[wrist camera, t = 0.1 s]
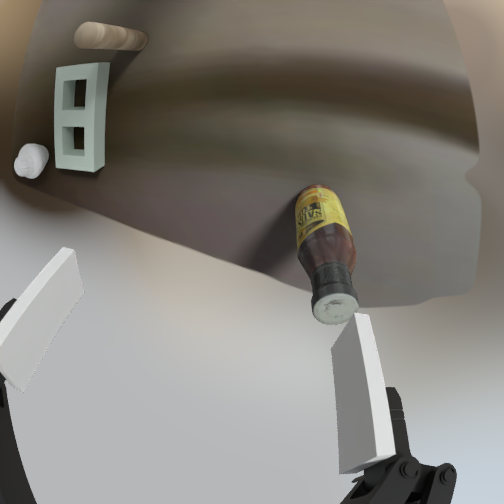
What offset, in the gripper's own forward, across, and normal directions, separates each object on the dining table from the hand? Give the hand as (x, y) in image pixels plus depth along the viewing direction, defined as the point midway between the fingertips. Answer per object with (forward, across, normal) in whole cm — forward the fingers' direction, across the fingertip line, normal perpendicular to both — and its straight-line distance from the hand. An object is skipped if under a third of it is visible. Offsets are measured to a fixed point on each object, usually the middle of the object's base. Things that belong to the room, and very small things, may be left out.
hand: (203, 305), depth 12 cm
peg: (+28, -18, +13) cm, 36 cm away
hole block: (+28, -26, +2) cm, 38 cm away
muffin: (+28, -36, -5) cm, 46 cm away
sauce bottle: (+28, +10, -6) cm, 30 cm away
